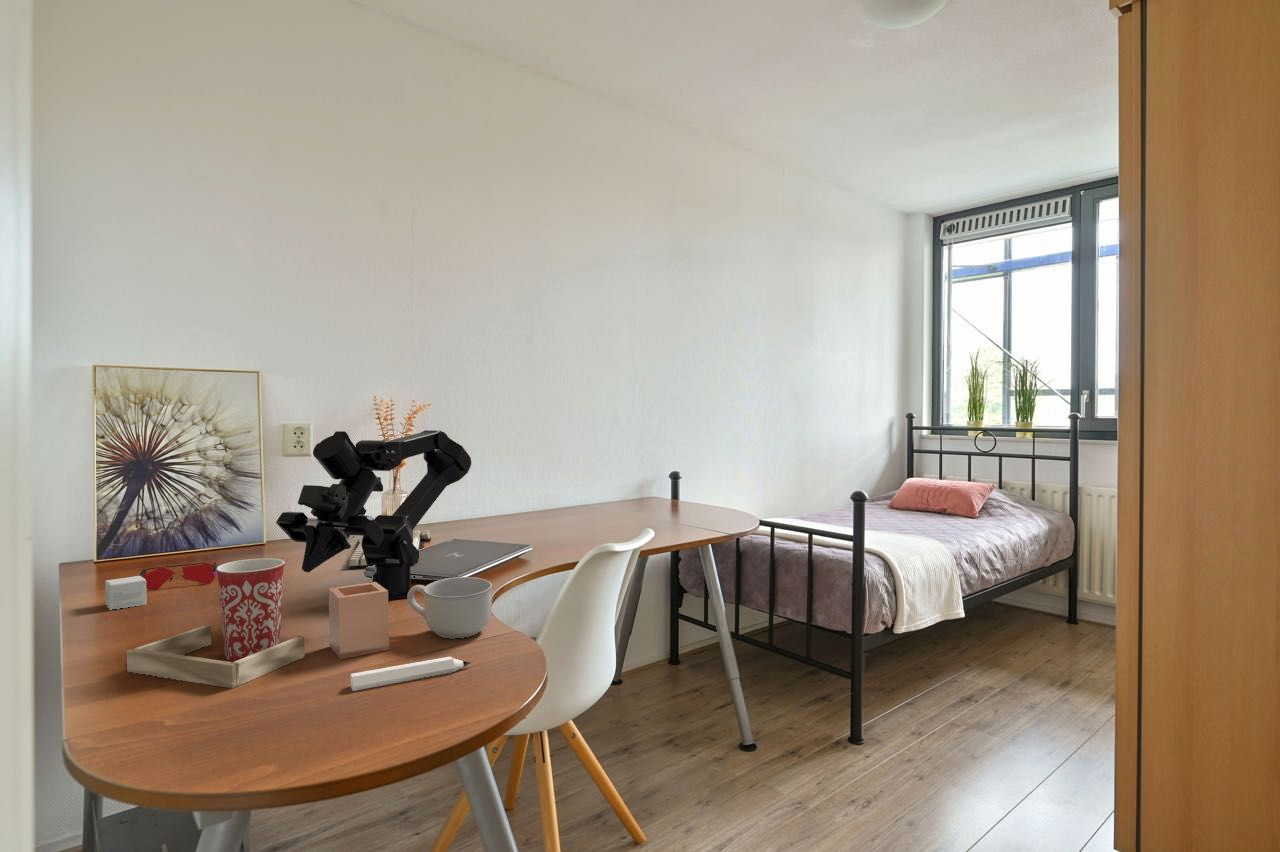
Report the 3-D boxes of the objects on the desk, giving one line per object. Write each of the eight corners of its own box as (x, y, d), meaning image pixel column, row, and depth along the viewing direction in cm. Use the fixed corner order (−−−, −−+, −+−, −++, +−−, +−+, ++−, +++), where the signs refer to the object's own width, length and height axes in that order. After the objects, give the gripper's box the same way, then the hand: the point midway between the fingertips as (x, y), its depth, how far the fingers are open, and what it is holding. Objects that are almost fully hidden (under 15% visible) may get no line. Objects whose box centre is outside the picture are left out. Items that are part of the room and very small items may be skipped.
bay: (206, 644, 113) (206, 625, 113) (304, 656, 107) (304, 636, 107) (127, 672, 101) (126, 650, 101) (232, 688, 95) (232, 665, 95)
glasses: (136, 594, 145) (135, 569, 145) (143, 577, 159) (143, 555, 159) (217, 585, 152) (216, 561, 152) (217, 570, 166) (216, 548, 166)
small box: (140, 599, 140) (140, 574, 140) (147, 605, 136) (146, 579, 135) (104, 605, 136) (103, 579, 136) (110, 611, 132) (109, 584, 131)
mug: (285, 659, 106) (283, 567, 106) (214, 668, 102) (211, 573, 102) (289, 634, 118) (287, 551, 117) (225, 642, 114) (223, 556, 114)
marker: (472, 674, 102) (351, 696, 95) (468, 663, 104) (349, 683, 96) (475, 661, 101) (353, 682, 93) (471, 650, 103) (351, 669, 95)
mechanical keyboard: (429, 568, 168) (429, 553, 168) (341, 574, 163) (341, 559, 163) (431, 539, 205) (431, 527, 205) (359, 544, 200) (359, 531, 199)
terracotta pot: (376, 638, 116) (375, 581, 115) (389, 650, 110) (388, 591, 110) (329, 646, 112) (328, 588, 111) (340, 659, 106) (339, 598, 106)
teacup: (504, 627, 121) (504, 579, 121) (469, 647, 111) (468, 595, 111) (433, 619, 126) (433, 573, 125) (393, 638, 115) (392, 588, 115)
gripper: (283, 465, 127) (231, 539, 117) (372, 468, 121) (325, 546, 111) (317, 504, 135) (271, 577, 125) (402, 508, 129) (361, 585, 119)
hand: (305, 570), depth 120 cm, fingers closed
